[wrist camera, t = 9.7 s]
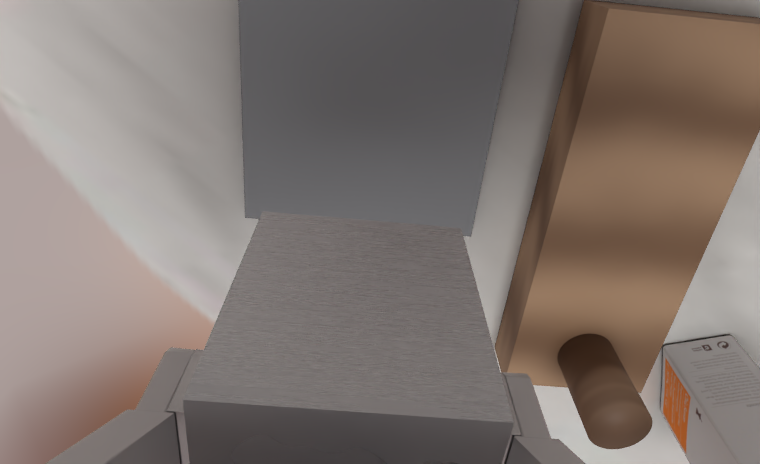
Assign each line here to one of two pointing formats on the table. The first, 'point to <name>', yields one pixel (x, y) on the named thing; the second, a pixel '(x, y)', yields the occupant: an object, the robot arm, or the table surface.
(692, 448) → the skincare box
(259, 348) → the white rectangular box
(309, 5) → the slate pad
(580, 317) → the walnut plane
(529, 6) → the table surface
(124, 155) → the table surface
